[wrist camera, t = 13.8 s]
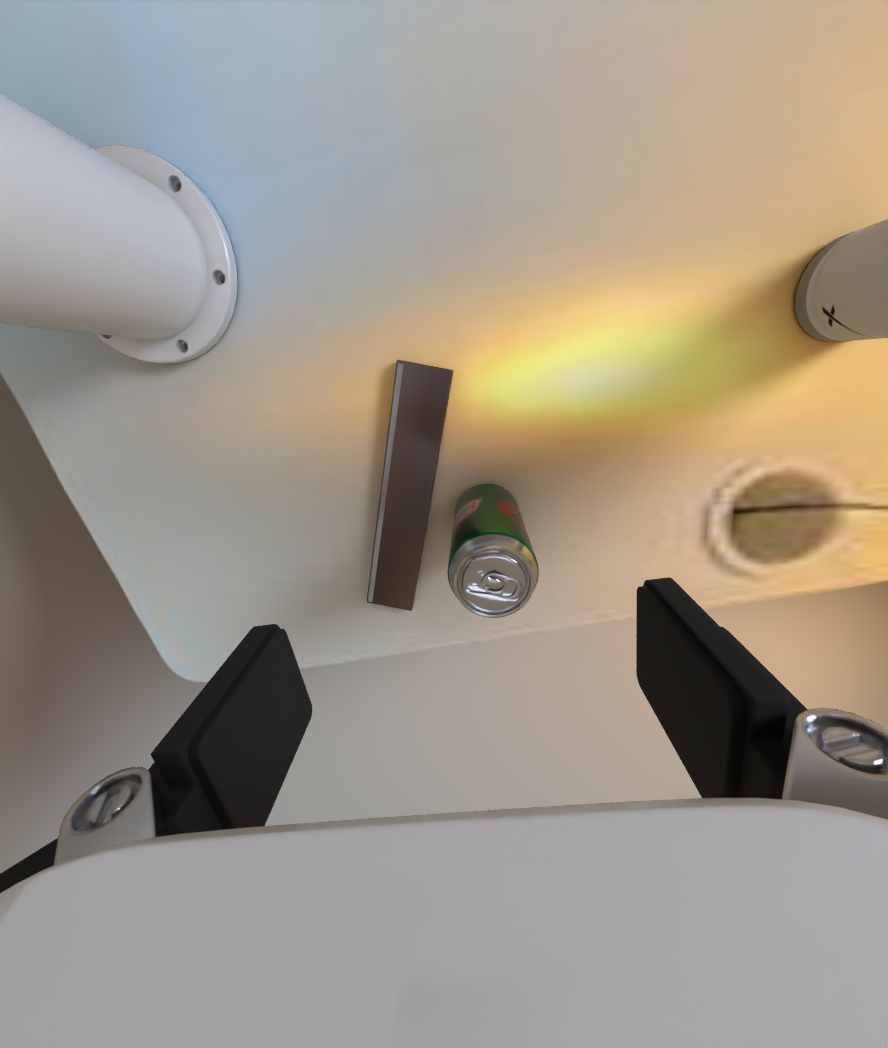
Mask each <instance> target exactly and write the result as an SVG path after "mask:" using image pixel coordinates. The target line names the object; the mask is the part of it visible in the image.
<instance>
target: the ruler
mask: <svg viewBox="0 0 888 1048" xmlns="http://www.w3.org/2000/svg"><path fill="white" fill-rule="evenodd" d="M452 376H453V370H449V369H443V368H438V367H433V366H427V365H422V364H417V363H411V362H406V361H401V360H397V366H396V374H395V382H394V390H393V398H392V406H391V414H390V422H389V429H388V437H387V445H386V453H385V461H384V469H383V477H382V485H381V493H380V501H379V509H378V517H377V525H376V533H375V541H374V549H373V557H372V565H371V573H370V580H369V588H368V596H367V602H368V603H373V604H379V605H384V606H389V607H395V608H400V609H405V610H410V611H411V610H412V607H413V602H414V596H415V590H416V585H417V579H418V573H419V567H420V561H421V556H422V550H423V544H424V538H425V532H426V527H427V521H428V515H429V509H430V503H431V498H432V492H433V486H434V480H435V474H436V469H437V463H438V457H439V451H440V445H441V440H442V434H443V428H444V422H445V416H446V411H447V405H448V399H449V393H450V387H451V382H452Z"/></svg>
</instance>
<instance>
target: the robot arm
mask: <svg viewBox="0 0 888 1048" xmlns="http://www.w3.org/2000/svg"><path fill="white" fill-rule="evenodd" d="M224 277H225V282H223V278H224ZM236 298H237V270H236V262H235V256H234V252H233V249H232V245H231V242H230V238H229V236H228V233H227V231H226V229H225V227H224V225H223V222H222V220H221V218H220V216H219V215H218V213H217V211H216V210H215V208H214V207H213V205H212V204H211V202H210V201H209V199H208V198H207V197H206V195H205V194H204V193H203V192H202V191H201V190H200V189H199V188H198V186H197V185H196V184H195V183H194V182H193V181H192V180H190V179H189V178H188V177H187V176H186V175H184V174H183V173H182V172H181V171H179V170H178V169H177V168H175V167H174V166H172V165H171V164H169V163H168V162H166V161H165V160H163V159H161V158H160V157H158V156H156V155H154V154H151V153H149V152H147V151H144V150H142V149H139V148H134V147H128V146H123V145H113V146H101V147H98V148H95V149H93V148H91V147H89V146H88V145H86V144H84V143H83V142H81V141H79V140H78V139H76V138H74V137H73V136H71V135H69V134H68V133H66V132H64V131H63V130H61V129H59V128H58V127H56V126H54V125H53V124H51V123H49V122H47V121H46V120H44V119H42V118H41V117H39V116H37V115H36V114H34V113H32V112H31V111H29V110H27V109H26V108H24V107H22V106H21V105H19V104H17V103H16V102H14V101H12V100H11V99H9V98H7V97H6V96H4V95H2V94H1V93H0V324H9V325H19V326H28V327H37V328H47V329H56V330H65V331H75V332H84V333H93V334H95V335H96V336H97V337H98V338H99V339H100V340H102V341H103V342H104V343H106V344H107V345H109V346H110V347H111V348H113V349H114V350H116V351H118V352H120V353H122V354H124V355H126V356H128V357H131V358H134V359H138V360H141V361H145V362H151V363H181V362H185V361H189V360H192V359H194V358H196V357H198V356H200V355H202V354H204V353H206V352H207V351H208V350H209V349H210V348H211V347H213V346H214V345H215V344H216V343H217V342H218V341H219V339H220V338H221V336H222V335H223V334H224V332H225V331H226V329H227V327H228V324H229V322H230V320H231V318H232V315H233V311H234V307H235V302H236ZM187 345H188V348H187ZM637 678H638V682H639V685H640V687H641V689H642V691H643V693H644V694H645V696H646V698H647V700H648V701H649V703H650V705H651V707H652V709H653V711H654V712H655V714H656V716H657V718H658V720H659V721H660V723H661V725H662V727H663V729H664V730H665V732H666V734H667V736H668V738H669V739H670V741H671V743H672V745H673V747H674V748H675V750H676V752H677V753H678V755H679V757H680V759H681V761H682V763H683V764H684V766H685V768H686V770H687V772H688V773H689V775H690V777H691V779H692V781H693V782H694V784H695V786H696V788H697V789H698V791H699V793H700V795H701V796H702V798H697V799H676V800H652V801H631V802H613V803H597V804H582V805H565V806H549V807H533V808H517V809H501V810H486V811H471V812H456V813H443V814H442V813H441V814H427V815H412V816H398V817H384V818H369V819H355V820H342V821H329V822H315V823H303V824H289V825H275V826H265V823H266V821H267V819H268V817H269V814H270V812H271V810H272V807H273V805H274V803H275V800H276V798H277V796H278V793H279V791H280V789H281V786H282V784H283V782H284V779H285V777H286V775H287V772H288V770H289V768H290V765H291V763H292V761H293V759H294V756H295V754H296V752H297V749H298V747H299V745H300V742H301V740H302V737H303V735H304V733H305V731H306V728H307V726H308V723H309V722H310V719H311V715H312V704H311V701H310V698H309V696H308V693H307V690H306V687H305V684H304V681H303V679H302V676H301V673H300V670H299V667H298V664H297V661H296V658H295V656H294V653H293V650H292V647H291V644H290V641H289V639H288V636H287V633H286V631H285V630H284V629H280V627H279V626H278V625H276V624H271V625H263V626H255V627H253V628H252V629H251V630H250V631H249V633H248V634H247V635H246V636H245V638H244V639H243V640H242V641H241V642H240V644H239V645H238V646H237V647H236V649H235V650H234V651H233V652H232V654H231V655H230V656H229V657H228V659H227V660H226V661H225V662H224V664H223V665H222V666H221V667H220V669H219V670H218V671H217V672H216V673H215V675H214V676H213V677H212V678H211V680H210V681H209V682H208V683H207V685H206V686H205V687H204V688H203V690H202V691H201V692H200V693H199V695H198V696H197V697H196V698H195V700H194V701H193V702H192V703H191V705H190V706H189V707H188V708H187V710H186V711H185V712H184V713H183V715H182V716H181V717H180V718H179V719H178V721H177V722H176V723H175V724H174V726H173V727H172V728H171V730H170V731H169V732H168V733H167V734H166V736H165V737H164V738H163V739H162V740H161V742H160V743H159V744H158V746H157V747H156V748H155V749H154V751H153V752H152V753H151V756H152V758H153V760H154V761H155V762H154V763H153V765H152V766H151V767H150V769H149V770H147V769H145V768H143V767H130V768H127V769H123V770H120V771H118V772H116V773H114V774H111V775H109V776H107V777H106V778H104V779H103V780H101V781H99V782H98V783H96V784H95V785H94V786H92V787H91V788H90V789H89V790H88V791H86V792H85V793H84V794H82V796H81V797H80V798H79V799H78V800H77V801H76V802H75V803H74V804H73V805H72V806H71V807H70V809H69V810H68V812H67V813H66V815H65V816H64V818H63V821H62V823H61V826H60V830H59V836H58V838H57V839H55V840H54V841H52V842H51V843H49V844H47V845H46V846H44V847H43V848H41V849H39V850H38V851H36V852H35V853H33V854H31V855H30V856H28V857H27V858H25V859H23V860H22V861H20V862H19V863H17V864H15V865H14V866H12V867H11V868H9V869H7V870H6V871H4V872H3V873H1V874H0V1048H888V729H887V728H885V727H883V726H881V725H879V724H877V723H875V722H874V721H872V720H870V719H867V718H864V717H862V716H859V715H857V714H854V713H851V712H846V711H842V710H838V709H828V708H816V709H810V710H808V709H806V708H805V707H804V706H803V705H802V704H801V703H800V702H799V701H798V700H797V699H796V698H795V697H794V696H793V695H792V694H791V693H790V692H789V691H788V690H787V689H786V688H785V687H784V686H783V685H782V684H781V683H780V682H779V681H778V680H777V679H776V678H775V677H774V676H773V675H772V674H771V673H770V672H769V671H768V670H767V669H766V668H765V667H764V666H763V665H762V664H761V663H760V662H759V661H758V660H757V659H756V658H755V657H754V656H753V655H752V654H751V653H750V652H749V651H748V650H747V649H746V648H745V647H744V646H743V645H742V644H741V643H740V642H739V641H738V640H737V639H736V638H735V637H734V636H733V635H732V634H731V633H730V632H729V631H727V630H726V629H725V628H723V627H720V626H718V624H717V623H716V622H715V621H714V620H713V619H712V618H711V617H710V616H708V614H707V613H706V612H705V611H704V610H703V609H702V608H701V607H700V606H699V605H698V604H697V603H696V602H695V601H694V600H693V599H692V598H691V597H690V596H689V595H688V594H687V593H686V592H685V591H684V590H683V589H682V588H681V587H680V586H679V585H678V584H677V583H676V582H675V581H674V580H673V579H671V578H661V579H652V580H646V581H645V582H644V586H642V587H638V589H637Z"/></svg>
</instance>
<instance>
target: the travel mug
mask: <svg viewBox="0 0 888 1048" xmlns="http://www.w3.org/2000/svg"><path fill="white" fill-rule="evenodd" d="M795 310H796V315H797V318H798V321H799V323H800V325H801V326H802V328H803V330H804V331H806V332H807V333H808V334H809V335H810V336H812V337H814V338H816V339H817V340H821V341H825V342H842V341H853V340H865V339H876V338H888V219H887V220H884V221H882V222H879V223H876V224H874V225H871V226H868V227H866V228H863V229H860V230H858V231H855V232H852V233H850V234H847V235H845V236H842V237H840V238H838V239H836V240H835V241H833V242H831V243H830V244H828V245H827V246H826V247H825V248H824V249H822V250H821V251H820V252H819V253H818V254H817V255H816V256H815V257H814V259H813V260H812V261H811V262H810V264H809V265H808V267H807V268H806V270H805V271H804V273H803V275H802V277H801V280H800V282H799V284H798V288H797V291H796V298H795Z"/></svg>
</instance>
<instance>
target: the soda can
mask: <svg viewBox="0 0 888 1048" xmlns="http://www.w3.org/2000/svg"><path fill="white" fill-rule="evenodd" d="M538 576H539V569H538V563H537V560H536V557H535V554H534V551H533V548H532V546H531V543H530V540H529V537H528V534H527V531H526V528H525V525H524V522H523V519H522V517H521V514H520V511H519V508H518V505H517V502H516V500H515V499H514V497H513V496H512V495H511V494H510V493H509V492H508V491H507V490H505V489H504V488H502V487H500V486H497V485H492V484H483V485H478V486H475V487H473V488H471V489H469V490H468V491H467V492H465V493H464V494H463V495H462V496H461V498H460V499H459V501H458V503H457V506H456V509H455V517H454V525H453V533H452V541H451V548H450V556H449V564H448V580H449V584H450V587H451V589H452V591H453V593H454V594H455V596H456V597H457V598H458V599H459V600H460V602H461V603H462V604H463V605H464V607H466V608H467V609H468V610H469V611H471V612H473V613H475V614H477V615H480V616H483V617H490V618H499V617H504V616H508V615H511V614H513V613H515V612H516V611H518V610H520V609H521V608H522V607H523V606H524V605H525V604H526V603H527V602H528V600H529V599H530V597H531V595H532V593H533V591H534V589H535V587H536V584H537V581H538Z"/></svg>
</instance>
